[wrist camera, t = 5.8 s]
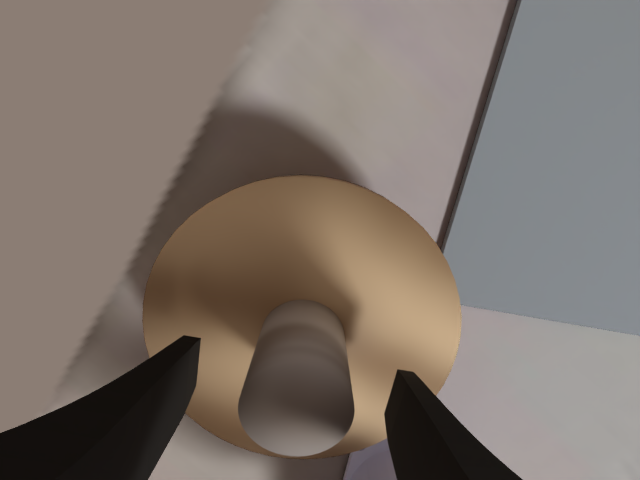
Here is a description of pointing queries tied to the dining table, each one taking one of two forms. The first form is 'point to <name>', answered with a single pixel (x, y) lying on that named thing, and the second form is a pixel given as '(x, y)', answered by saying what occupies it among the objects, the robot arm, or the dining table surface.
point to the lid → (303, 313)
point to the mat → (556, 171)
